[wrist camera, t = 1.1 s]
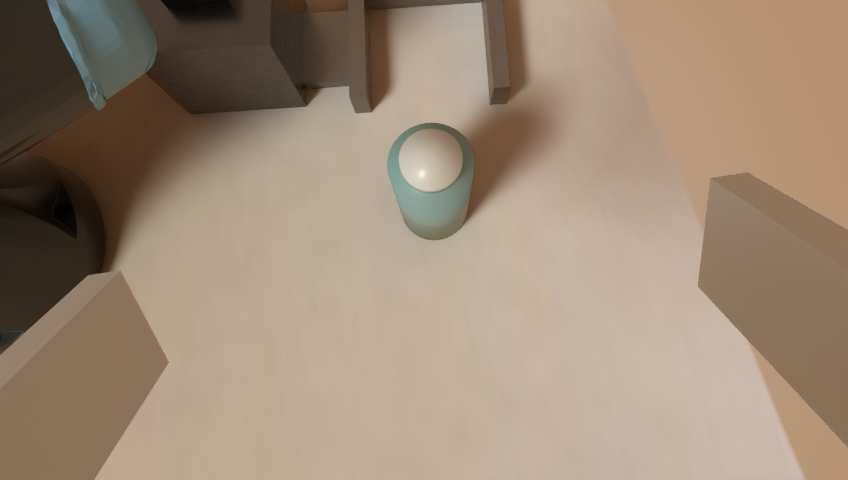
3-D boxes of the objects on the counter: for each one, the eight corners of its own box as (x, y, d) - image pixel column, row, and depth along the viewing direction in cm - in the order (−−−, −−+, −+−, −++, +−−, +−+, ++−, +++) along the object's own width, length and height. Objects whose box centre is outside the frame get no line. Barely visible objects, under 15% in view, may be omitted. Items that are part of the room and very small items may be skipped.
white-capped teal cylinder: (391, 225, 36) (371, 182, 26) (416, 166, 36) (406, 104, 27) (453, 250, 35) (456, 215, 25) (477, 189, 36) (489, 134, 26)
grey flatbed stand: (506, 103, 37) (527, 22, 28) (190, 123, 38) (106, 51, 28) (495, -13, 39) (512, -125, 30) (196, 8, 40) (119, -94, 31)
